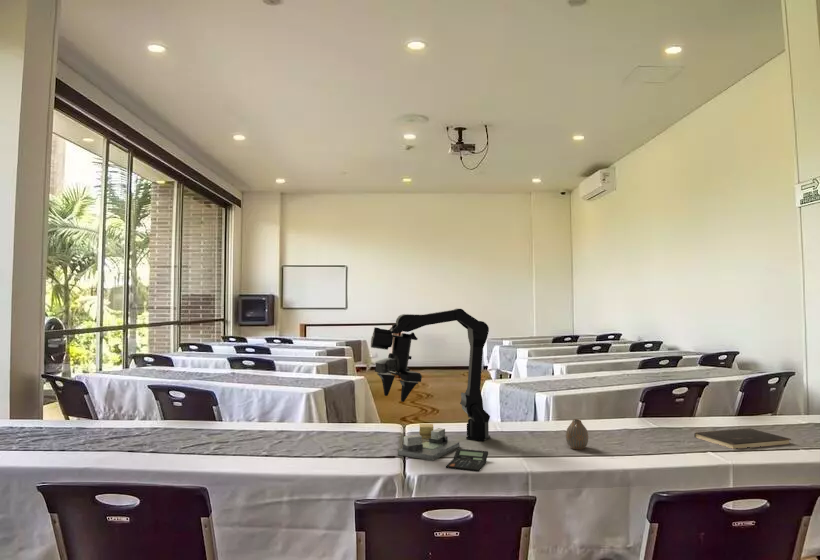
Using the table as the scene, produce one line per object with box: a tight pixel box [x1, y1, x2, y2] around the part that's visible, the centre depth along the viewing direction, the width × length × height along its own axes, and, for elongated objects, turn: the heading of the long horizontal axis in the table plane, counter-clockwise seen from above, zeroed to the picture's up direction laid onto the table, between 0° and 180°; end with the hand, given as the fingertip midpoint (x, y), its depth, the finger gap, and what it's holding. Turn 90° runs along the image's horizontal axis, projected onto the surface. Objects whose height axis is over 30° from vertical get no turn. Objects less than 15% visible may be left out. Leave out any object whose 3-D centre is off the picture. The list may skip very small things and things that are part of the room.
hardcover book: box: [694, 427, 792, 450], centre depth 183 cm, size 16×23×2 cm
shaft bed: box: [397, 427, 460, 462], centre depth 171 cm, size 12×18×5 cm, turn 150°
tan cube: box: [418, 423, 434, 439], centre depth 184 cm, size 5×5×5 cm
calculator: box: [445, 448, 489, 472], centre depth 157 cm, size 9×12×3 cm
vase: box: [565, 418, 589, 451], centre depth 174 cm, size 7×7×9 cm
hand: (394, 398), depth 182 cm, fingers open, 9 cm apart
